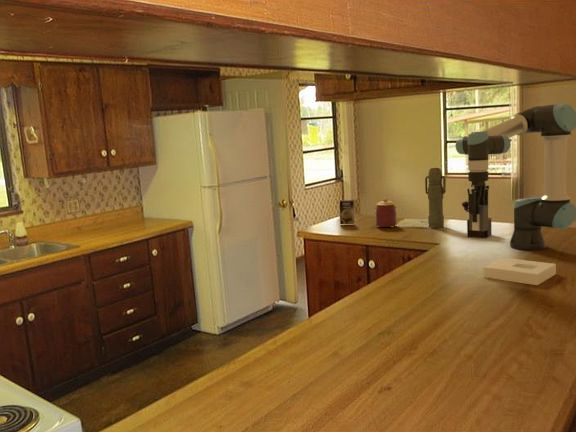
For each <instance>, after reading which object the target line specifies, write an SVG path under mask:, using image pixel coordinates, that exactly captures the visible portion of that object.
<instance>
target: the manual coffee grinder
mask: <svg viewBox="0 0 576 432" xmlns="http://www.w3.org/2000/svg"><path fill="white" fill-rule="evenodd" d="M461 206H462V207H463V208H464V209H463V210H464V211H465V213H469V204H468V200H467V201H466V200H465V201H463V202H462V203H461ZM466 227H467V230H466V233H467V238H472V239H473V238H475V239H487V238H490V237H491V236H492V217H488V230H486V231H473V230H469V218H468V219H466Z"/></svg>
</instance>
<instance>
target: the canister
mask: <svg viewBox="0 0 576 432" xmlns="http://www.w3.org/2000/svg"><path fill="white" fill-rule="evenodd" d="M395 204H396V203H395V202H393V201H391V200H388V198H386V197H384V198H383V201H382V200H381V201H378V202H376V204H375V205H376V207H374V208H375V214H374V215H375V226H379V227H391V226H395V225H398V221H397V211H396V209H397V206H396V205H395Z"/></svg>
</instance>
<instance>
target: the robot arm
mask: <svg viewBox="0 0 576 432" xmlns="http://www.w3.org/2000/svg"><path fill="white" fill-rule="evenodd" d="M575 129H576V109H574V107H573V106H572V105H571V104H567V103H556V104H548V105H547V104H546V105H538V106H533V107H529V108H527V109H525V110H522V111H520V112H518V113H517V112H516V113H514V114H513V115H511V116H510V118H509V119H506V120H504V121H502V122H500V123H497V124H494V125H493V126H490V127H489V128H486V129H483V130H481V131H471V132H469V133H468V135H467V136H460V137H459V138H458V139H456V141H455V149H456V152H457V153H458V154H459V155H465V156H466V155H467V157H468V158H467V160H468V161H467V166H468V167H467V170H468V171H469V172H468V174H467V175H468V176H467V178H468V179H467V180H468V182H471V184H470V185H471V186H470V188H467V196H468V197H467V198H468V199H467V202H468V204H469V205H468V207H469V209H468V210H469V212H468V215H469V214H472V230H477V231H479V230H480V227H479V214H478V209H479V205H488V206H489V190H490V186H489V185H486V182H488V181H489V171H488V170H489V155H490V156H491V155H502V154H505V153H507V152H509V150H510V149H511V145H512V144H511V139H510V138H512V137H514V136H522V135H524V134H530V133H540V138H542V140H544V194H543V195H542V196H541V197H539V196H538V197H536V196H534V197H526V198H525V197H524V198H519V199H516V200H515V201H514V204H513V205H514V207H513V223H514V224H513V227H514V228H513V233H512V235H511V239H510V241H509V247H510V248H512V249H517V250H523V251H525V250H526V251H528V250H529V251H533V250H535V251H536V250H542V249H545V248H546V241H545V238H544V235H543V231H542V227H543V228H548V229H549V228H550V229H555V230H565V229H568V228H570V226H572V224H573V223H574V222H575V218H576V206H575V204H574V203H572V202H571V197H570V196H569V195H568V194H567V162H568V161H567V157H568V156H567V155H568V153H567V152H568V150H567V148H568V139H569V138H570V136H571V135H572V132H573V131H574V130H575Z"/></svg>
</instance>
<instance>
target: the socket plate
mask: <svg viewBox="0 0 576 432" xmlns="http://www.w3.org/2000/svg"><path fill="white" fill-rule="evenodd" d="M482 274H483V278H487V279H493V280H500V281H507V282H508V281H509V282H514V283H520V284H527V285H534V286H538V285H540V284H541V283H543V282H545V281H547V280H549V279H550V278H553V276H555V275H556V274H557V264H556V263H549V262H543V261H542V262H541V261H534V260H525V259H517V258H516V259H515V258H508V257H502V258H499V259H498V260H496V261H494V262H492V263H490V264H487V265H485V266H483V273H482Z"/></svg>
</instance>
